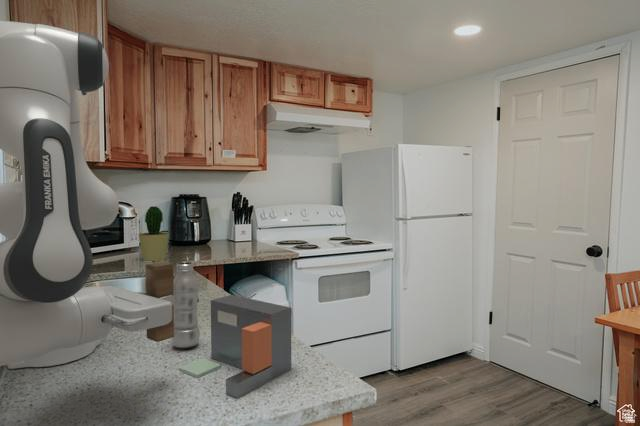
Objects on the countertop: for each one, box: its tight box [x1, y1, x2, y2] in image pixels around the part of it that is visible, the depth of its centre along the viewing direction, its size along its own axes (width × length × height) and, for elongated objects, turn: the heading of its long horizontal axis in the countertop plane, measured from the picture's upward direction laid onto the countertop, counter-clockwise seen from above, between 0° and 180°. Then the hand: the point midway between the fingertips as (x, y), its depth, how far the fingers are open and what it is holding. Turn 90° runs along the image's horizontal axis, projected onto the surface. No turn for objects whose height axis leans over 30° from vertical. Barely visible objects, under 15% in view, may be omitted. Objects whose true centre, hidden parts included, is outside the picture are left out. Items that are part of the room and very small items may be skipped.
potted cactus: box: [138, 206, 170, 261], centre depth 221 cm, size 15×15×30 cm
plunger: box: [241, 322, 272, 374], centre depth 79 cm, size 3×5×8 cm, turn 144°
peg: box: [145, 261, 174, 343], centre depth 78 cm, size 4×4×14 cm
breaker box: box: [210, 294, 292, 399], centre depth 84 cm, size 18×15×13 cm
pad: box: [178, 357, 222, 379], centre depth 85 cm, size 6×6×1 cm
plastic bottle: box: [170, 261, 201, 349], centre depth 97 cm, size 6×7×20 cm
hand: (164, 297), depth 78 cm, fingers closed on peg, 3 cm apart
